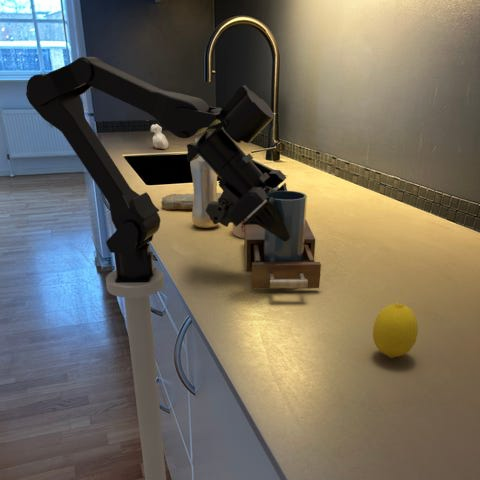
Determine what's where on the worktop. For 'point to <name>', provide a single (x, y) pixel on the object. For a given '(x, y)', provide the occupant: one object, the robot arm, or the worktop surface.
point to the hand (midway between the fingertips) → (292, 233)
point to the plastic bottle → (203, 191)
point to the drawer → (284, 271)
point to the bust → (159, 137)
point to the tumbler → (294, 219)
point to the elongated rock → (180, 201)
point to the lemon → (395, 330)
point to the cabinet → (256, 236)
